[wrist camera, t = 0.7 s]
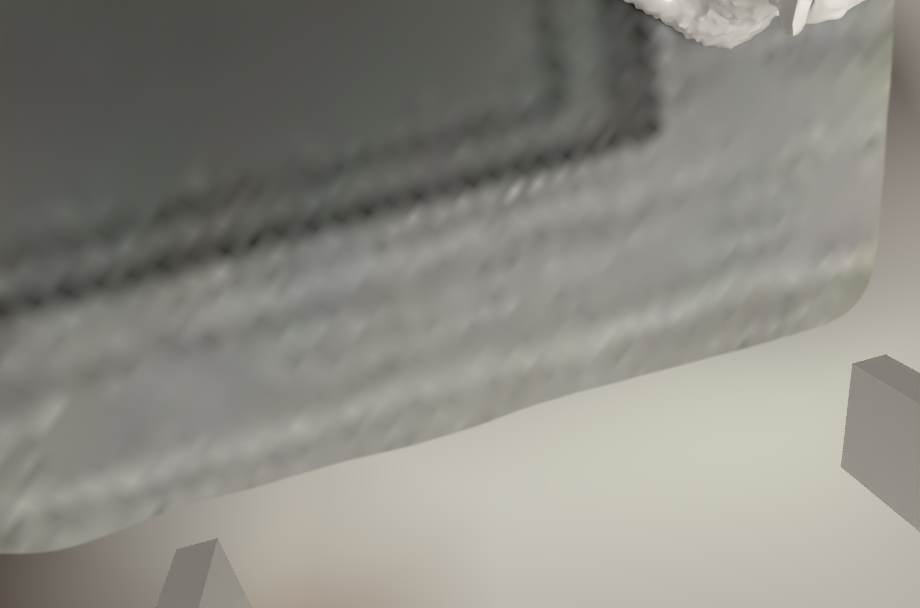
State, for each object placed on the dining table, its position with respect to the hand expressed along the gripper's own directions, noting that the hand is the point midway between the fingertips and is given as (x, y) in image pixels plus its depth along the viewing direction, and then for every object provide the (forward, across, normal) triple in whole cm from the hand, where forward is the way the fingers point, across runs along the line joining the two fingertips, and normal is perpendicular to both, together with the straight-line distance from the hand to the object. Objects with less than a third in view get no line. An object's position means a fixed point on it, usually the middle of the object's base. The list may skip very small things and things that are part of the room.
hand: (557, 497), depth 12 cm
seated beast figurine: (+24, +17, +10) cm, 31 cm away
